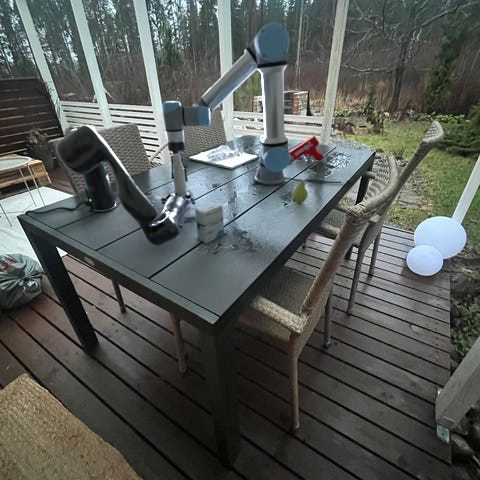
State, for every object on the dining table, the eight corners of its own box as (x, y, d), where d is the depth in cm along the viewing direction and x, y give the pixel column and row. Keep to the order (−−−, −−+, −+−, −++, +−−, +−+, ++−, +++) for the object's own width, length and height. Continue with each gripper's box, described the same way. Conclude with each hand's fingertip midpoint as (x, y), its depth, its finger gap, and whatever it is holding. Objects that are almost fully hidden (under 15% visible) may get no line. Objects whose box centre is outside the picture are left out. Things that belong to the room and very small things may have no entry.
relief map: (231, 168, 161) (231, 160, 158) (189, 159, 179) (189, 151, 176) (257, 158, 179) (257, 150, 176) (217, 150, 197) (216, 142, 194)
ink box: (215, 229, 101) (213, 200, 95) (224, 234, 98) (223, 205, 92) (197, 238, 96) (194, 208, 90) (206, 243, 93) (203, 213, 87)
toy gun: (327, 155, 171) (314, 135, 167) (326, 157, 167) (314, 136, 164) (302, 170, 181) (290, 151, 177) (301, 172, 177) (288, 153, 174)
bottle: (183, 205, 120) (176, 152, 108) (190, 207, 118) (184, 154, 106) (176, 208, 117) (168, 155, 104) (183, 211, 115) (176, 156, 102)
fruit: (288, 200, 123) (290, 174, 116) (302, 197, 125) (305, 172, 119) (296, 206, 118) (299, 179, 111) (310, 203, 120) (314, 177, 114)
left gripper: (192, 200, 100) (198, 183, 114) (153, 200, 100) (164, 183, 114) (194, 218, 104) (200, 199, 118) (156, 218, 104) (167, 199, 118)
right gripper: (174, 134, 130) (180, 177, 141) (159, 147, 109) (167, 196, 120) (189, 134, 129) (194, 177, 141) (177, 147, 109) (183, 197, 120)
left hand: (182, 191), depth 116 cm, fingers closed on bottle, 4 cm apart
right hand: (181, 186), depth 131 cm, fingers open, 13 cm apart
